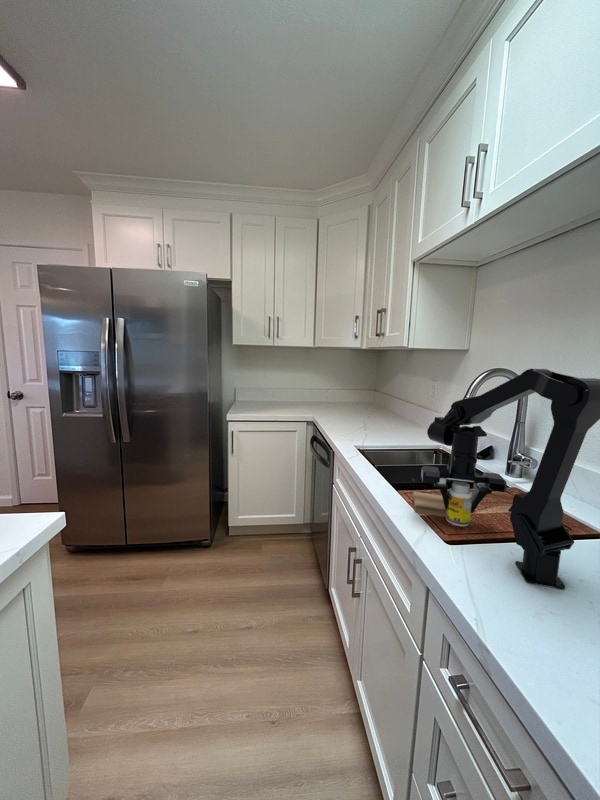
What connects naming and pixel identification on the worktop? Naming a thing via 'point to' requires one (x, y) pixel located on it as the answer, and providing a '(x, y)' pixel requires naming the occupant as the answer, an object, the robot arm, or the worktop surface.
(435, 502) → the beige square slab
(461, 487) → the supplement bottle
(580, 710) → the worktop surface
